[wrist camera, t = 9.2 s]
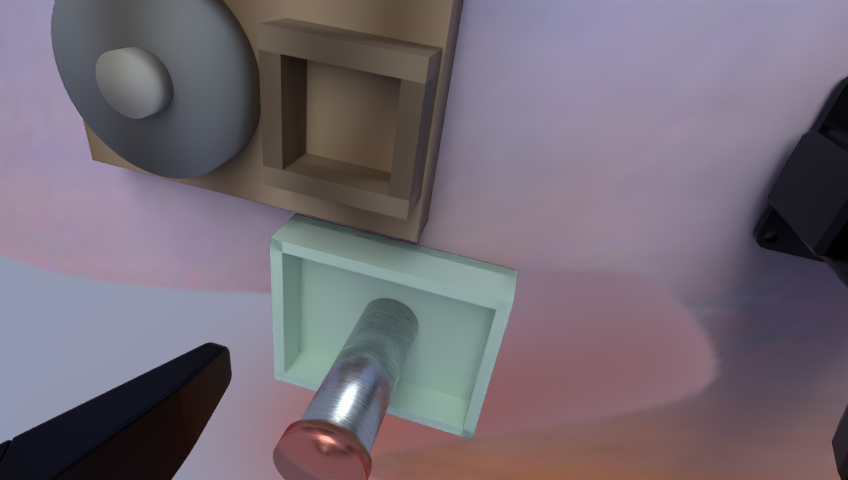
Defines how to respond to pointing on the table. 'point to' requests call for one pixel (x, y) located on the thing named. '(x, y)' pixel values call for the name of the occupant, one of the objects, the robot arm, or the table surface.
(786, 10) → the table surface
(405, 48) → the block
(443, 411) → the tray
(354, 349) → the pin
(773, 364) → the table surface
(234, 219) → the table surface
